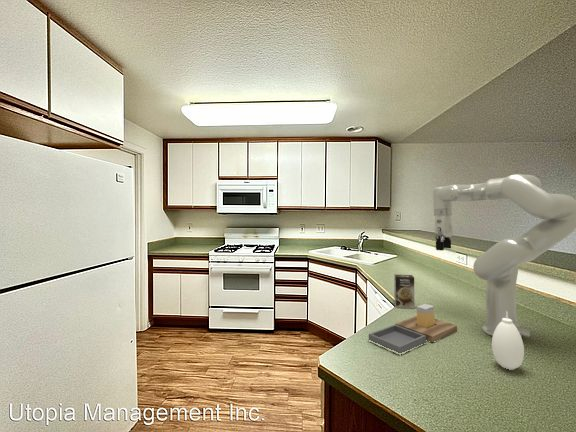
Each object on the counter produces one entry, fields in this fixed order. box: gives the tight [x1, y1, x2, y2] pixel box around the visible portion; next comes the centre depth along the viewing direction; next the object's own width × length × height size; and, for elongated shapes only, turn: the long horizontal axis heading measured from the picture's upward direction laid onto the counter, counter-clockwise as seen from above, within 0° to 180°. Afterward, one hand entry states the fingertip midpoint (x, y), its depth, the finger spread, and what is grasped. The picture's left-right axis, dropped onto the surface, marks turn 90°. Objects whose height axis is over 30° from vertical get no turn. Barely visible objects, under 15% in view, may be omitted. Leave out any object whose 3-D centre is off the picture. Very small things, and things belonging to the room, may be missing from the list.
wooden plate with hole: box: [394, 315, 458, 343], centre depth 119 cm, size 16×18×2 cm
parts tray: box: [368, 324, 427, 353], centre depth 109 cm, size 14×16×3 cm
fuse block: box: [416, 303, 436, 329], centre depth 119 cm, size 4×6×10 cm, turn 123°
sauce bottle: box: [491, 311, 525, 371], centre depth 90 cm, size 8×8×18 cm
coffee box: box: [393, 274, 415, 310], centre depth 150 cm, size 9×6×16 cm
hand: (443, 249), depth 136 cm, fingers open, 9 cm apart
